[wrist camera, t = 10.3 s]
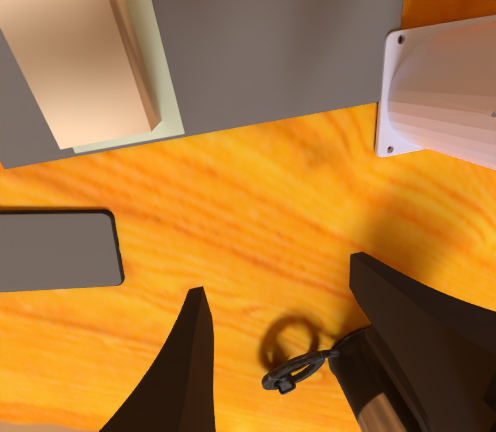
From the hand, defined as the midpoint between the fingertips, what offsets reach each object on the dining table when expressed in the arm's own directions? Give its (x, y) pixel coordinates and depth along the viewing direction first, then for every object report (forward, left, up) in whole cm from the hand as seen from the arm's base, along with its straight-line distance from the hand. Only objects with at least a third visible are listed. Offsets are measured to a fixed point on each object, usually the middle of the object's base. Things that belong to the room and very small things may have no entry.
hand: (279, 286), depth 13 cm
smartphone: (+18, 0, -10) cm, 21 cm away
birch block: (+7, -11, -9) cm, 16 cm away
